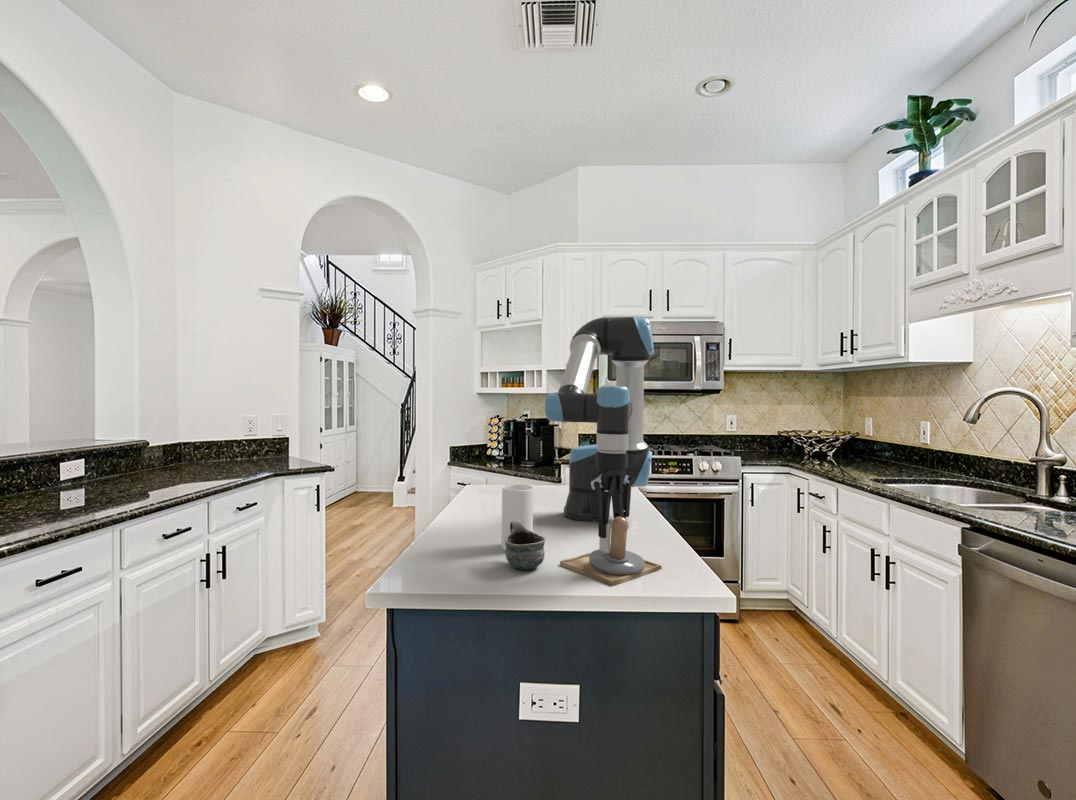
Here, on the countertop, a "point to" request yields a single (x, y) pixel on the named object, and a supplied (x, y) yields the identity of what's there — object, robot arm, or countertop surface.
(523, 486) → the cup
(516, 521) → the mug
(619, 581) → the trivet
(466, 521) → the countertop surface
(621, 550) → the lid
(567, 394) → the robot arm
